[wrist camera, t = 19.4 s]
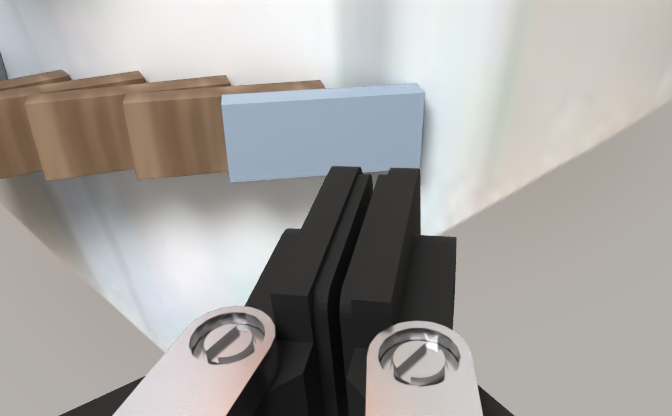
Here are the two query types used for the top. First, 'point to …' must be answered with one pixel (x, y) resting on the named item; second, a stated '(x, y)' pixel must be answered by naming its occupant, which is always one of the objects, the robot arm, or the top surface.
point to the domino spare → (322, 131)
